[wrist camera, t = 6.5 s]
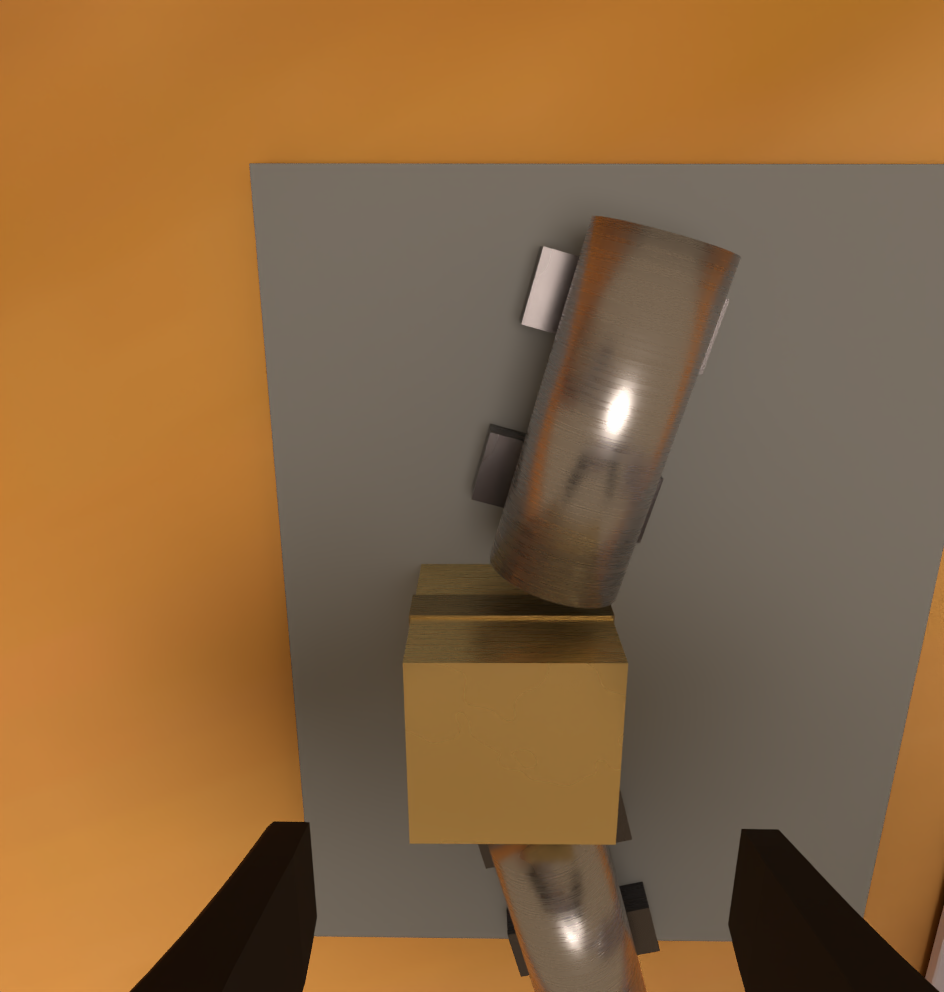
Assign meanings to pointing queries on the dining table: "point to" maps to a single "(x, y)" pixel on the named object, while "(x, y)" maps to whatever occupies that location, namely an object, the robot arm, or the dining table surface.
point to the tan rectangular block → (510, 714)
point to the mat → (670, 529)
